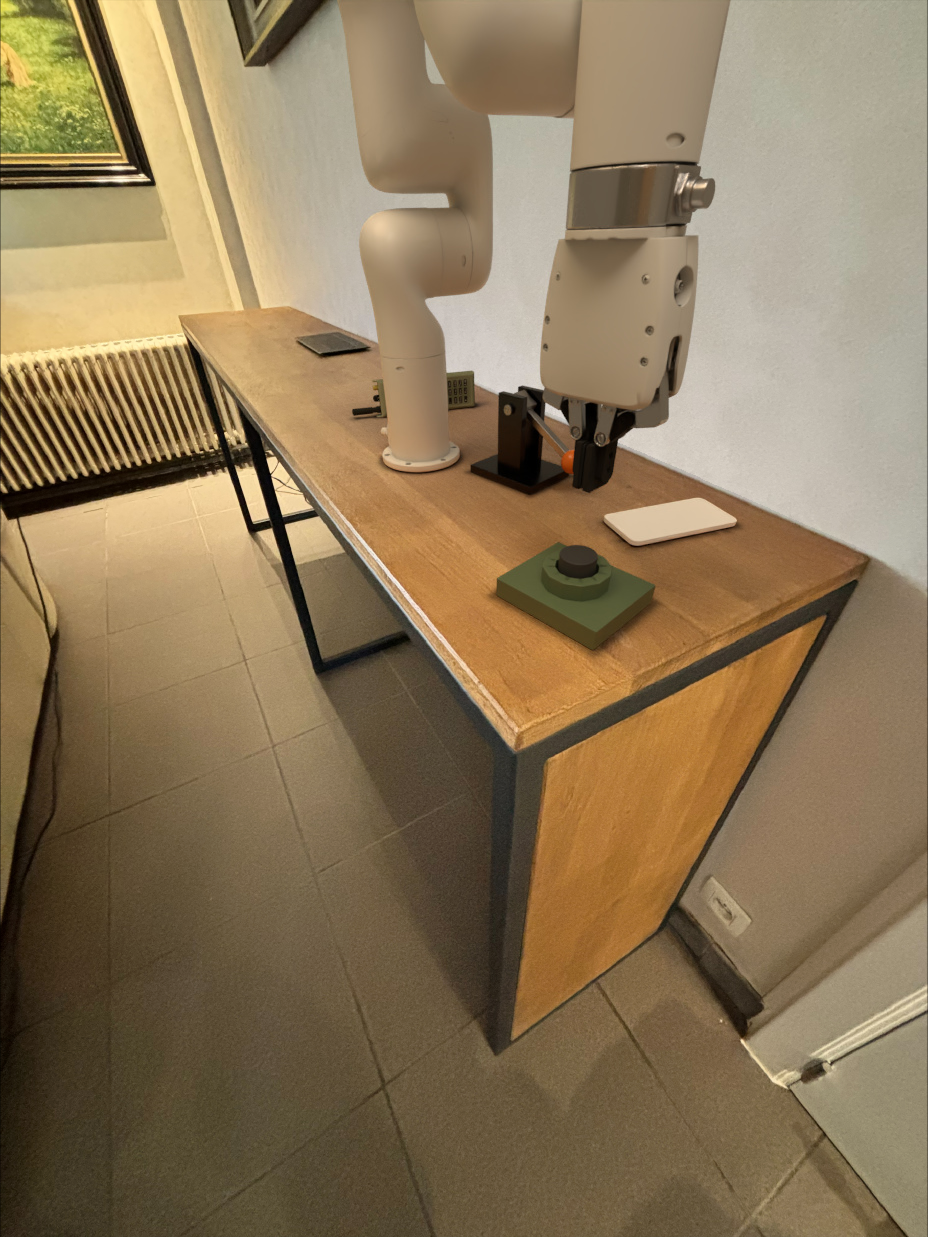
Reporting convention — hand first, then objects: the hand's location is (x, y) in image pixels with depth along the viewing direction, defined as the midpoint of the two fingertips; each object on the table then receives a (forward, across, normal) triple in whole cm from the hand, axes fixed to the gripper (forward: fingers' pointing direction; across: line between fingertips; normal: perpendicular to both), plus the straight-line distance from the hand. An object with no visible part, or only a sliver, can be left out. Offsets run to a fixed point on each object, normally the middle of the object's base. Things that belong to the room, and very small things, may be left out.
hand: (590, 485), depth 43 cm
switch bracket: (+12, +25, -20) cm, 35 cm away
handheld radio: (+12, +62, -29) cm, 69 cm away
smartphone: (+12, +1, -21) cm, 25 cm away
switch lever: (+6, +21, -20) cm, 30 cm away
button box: (+12, 0, 0) cm, 12 cm away
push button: (+9, 0, 0) cm, 9 cm away
